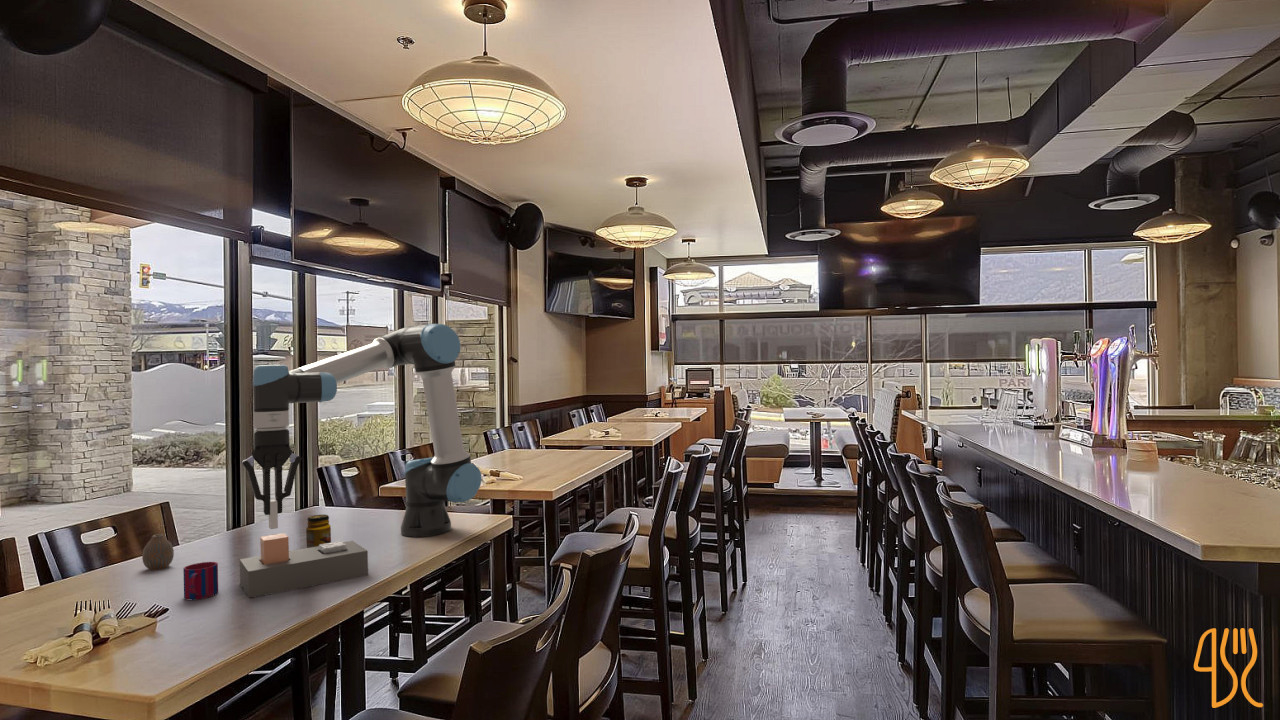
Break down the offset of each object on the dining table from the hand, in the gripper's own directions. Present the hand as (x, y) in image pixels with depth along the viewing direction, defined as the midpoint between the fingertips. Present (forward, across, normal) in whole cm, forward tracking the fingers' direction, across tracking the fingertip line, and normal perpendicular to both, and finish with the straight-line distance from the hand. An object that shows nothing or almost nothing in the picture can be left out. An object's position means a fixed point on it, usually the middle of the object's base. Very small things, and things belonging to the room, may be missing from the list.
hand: (273, 527), depth 167 cm
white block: (+12, +13, 0) cm, 18 cm away
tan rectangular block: (+8, 0, 0) cm, 8 cm away
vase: (+14, -21, +40) cm, 47 cm away
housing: (+14, +7, 0) cm, 15 cm away
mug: (+14, -15, +2) cm, 21 cm away
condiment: (+14, +13, +17) cm, 25 cm away
